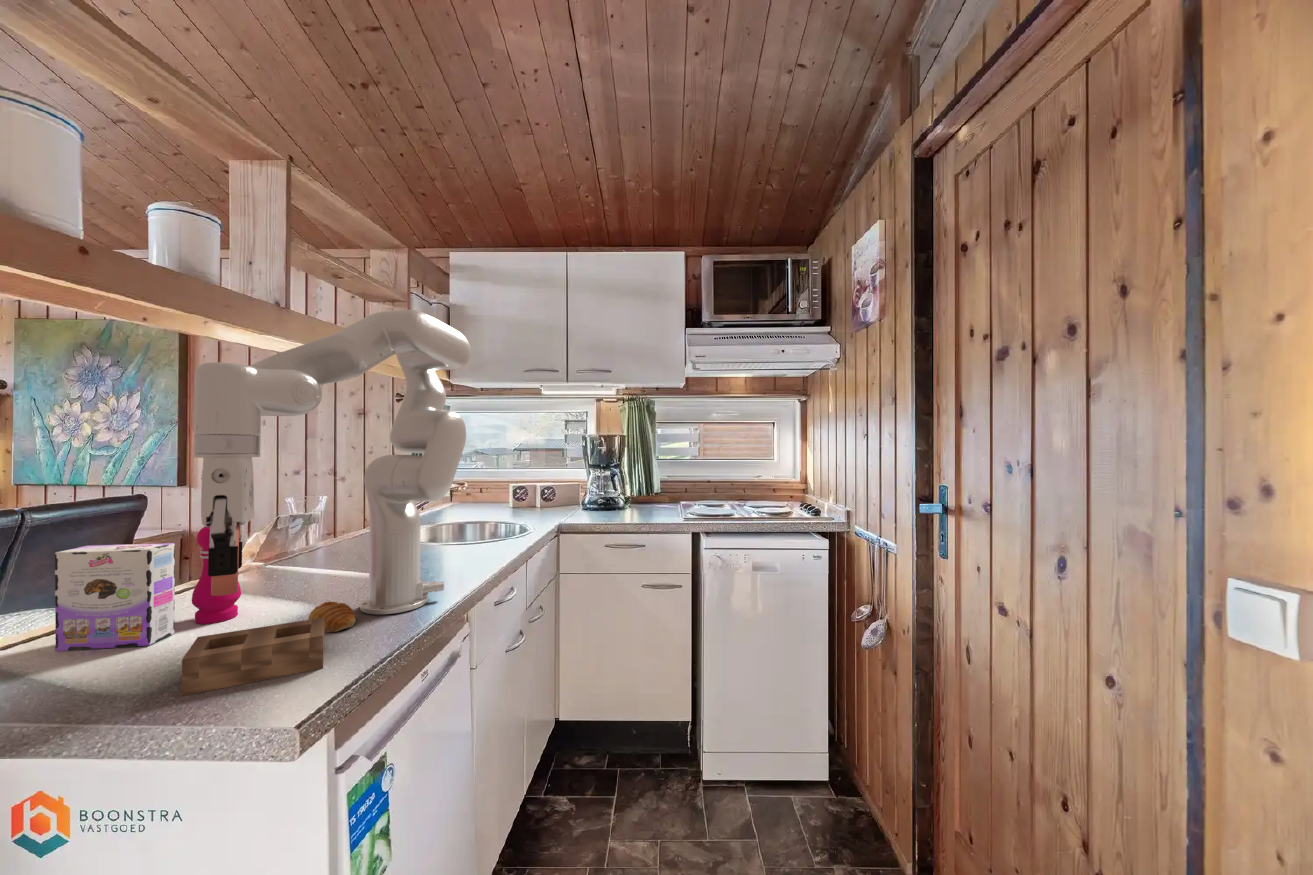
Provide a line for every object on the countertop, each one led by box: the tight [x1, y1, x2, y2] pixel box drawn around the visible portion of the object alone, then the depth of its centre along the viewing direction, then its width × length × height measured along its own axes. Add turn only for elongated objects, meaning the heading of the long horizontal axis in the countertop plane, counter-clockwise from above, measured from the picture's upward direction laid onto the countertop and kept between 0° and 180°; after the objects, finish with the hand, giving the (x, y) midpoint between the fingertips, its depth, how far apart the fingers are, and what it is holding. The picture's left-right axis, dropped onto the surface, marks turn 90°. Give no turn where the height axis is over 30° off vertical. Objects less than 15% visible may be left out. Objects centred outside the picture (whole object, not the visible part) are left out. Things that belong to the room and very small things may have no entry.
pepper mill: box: [191, 526, 242, 625], centre depth 97 cm, size 7×7×20 cm
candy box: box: [54, 542, 176, 652], centre depth 86 cm, size 14×6×16 cm, turn 99°
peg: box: [211, 523, 240, 596], centre depth 74 cm, size 3×3×10 cm
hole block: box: [181, 617, 326, 697], centre depth 76 cm, size 16×9×5 cm, turn 122°
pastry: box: [307, 601, 356, 633], centre depth 94 cm, size 9×7×4 cm
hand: (225, 570), depth 74 cm, fingers closed on peg, 3 cm apart
